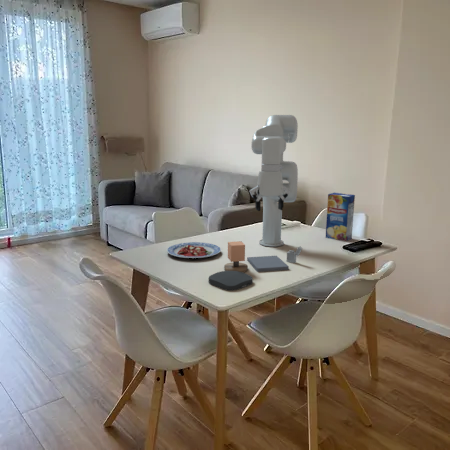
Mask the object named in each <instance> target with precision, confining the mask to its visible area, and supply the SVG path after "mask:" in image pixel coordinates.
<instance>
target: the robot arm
mask: <svg viewBox="0 0 450 450" xmlns="http://www.w3.org/2000/svg"><path fill="white" fill-rule="evenodd" d="M298 128H299V125H298V119H297V118H296V116H294V115H292V114H273V115H270V116H269V117H268V118H267V119H266V121H265V125H264V126H262V127H261V128H258V129H256V131H254V132H253V135H252V139H251V151H252V153H254V154H256V155H261V171H259V172H258V176H257V183H256V186H254V187H253V188H251V189H249V193H250V196H251V198H253V200H254V201H255V207H254V208H255V210H256V211H258V212H260V211H261V201H260V200H261V199H262V203H263V204H262V206H263V207H262V209H263V210H262V211H263V212H262V238H261V239H260V240H259V241H258V242H259V245H261V246H264V247H270V248H272V247H273V248H275V247H281V246H283V245H284V244H285V242H284V240H282V224H283V223H282V222H283V221H282V219H283V216H282V215H283V209H284V207H285V206H284V203H294V202H296V200H297V198H298V179H299V178H298V175H299V173H298V171H299V170H298V165H297V163H296V162H294V161H289V160H288V161H286V160H284V152H285V151H286V149H287V143H288V144H293V143H295V142H296V141H297V139H298V138H297V137H298ZM283 181H286V182H283ZM255 192H256V194H257V195H256V194H255Z"/></svg>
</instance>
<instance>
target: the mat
mask: <svg viewBox="0 0 450 450" xmlns="http://www.w3.org/2000/svg"><path fill="white" fill-rule="evenodd" d="M246 261H247V262H248V263H249V264H250V266H251V267H253V269H254V270H255V271H256V273H257V272H258V273H260V272H274V271H276V272H277V271H288V270H289V269H290V267H289V265H288V264H287V263H286V262H285V261H283V260H282V259H281V258H280V257H279V256H278V255H266V256H265V255H264V256H250V257H249V256H248V257H247V259H246Z"/></svg>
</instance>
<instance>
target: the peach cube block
mask: <svg viewBox="0 0 450 450" xmlns="http://www.w3.org/2000/svg"><path fill="white" fill-rule="evenodd" d="M227 258H228V260H229V262H230V263H232V262H236V261H239V262H245V261H246V244H245V243H244V242H243V241H228V242H227Z"/></svg>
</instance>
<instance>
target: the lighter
mask: <svg viewBox="0 0 450 450" xmlns="http://www.w3.org/2000/svg"><path fill="white" fill-rule="evenodd" d="M302 250H303V247H302V246H298V247H297V249H296V251H295V250H290V249H289V251H287V252H286V262H287V263H292V264H296V263H297V257H298V256H299V255H300V253H301V252H302Z"/></svg>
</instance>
